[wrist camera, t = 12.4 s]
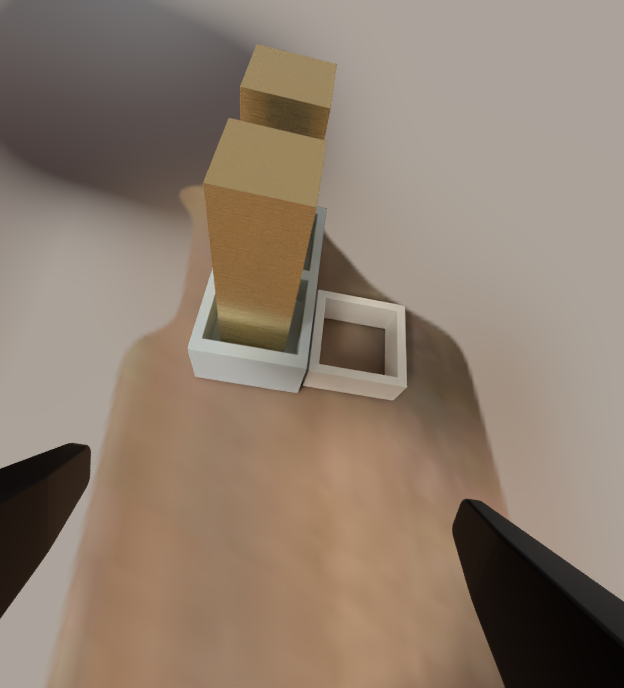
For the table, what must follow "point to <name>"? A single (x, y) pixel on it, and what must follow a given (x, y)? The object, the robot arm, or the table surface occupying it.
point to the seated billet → (287, 92)
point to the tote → (363, 314)
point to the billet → (260, 228)
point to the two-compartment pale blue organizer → (254, 362)
